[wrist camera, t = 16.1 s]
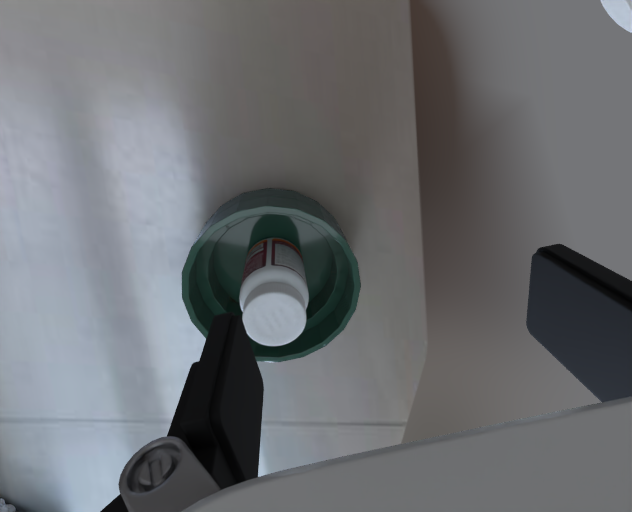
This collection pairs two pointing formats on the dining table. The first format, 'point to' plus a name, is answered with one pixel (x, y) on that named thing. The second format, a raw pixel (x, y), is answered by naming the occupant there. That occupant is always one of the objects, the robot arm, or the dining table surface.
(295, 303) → the pill bottle
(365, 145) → the dining table surface
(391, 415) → the dining table surface
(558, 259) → the robot arm
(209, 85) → the dining table surface
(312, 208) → the green faceted bowl
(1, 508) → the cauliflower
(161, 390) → the dining table surface
